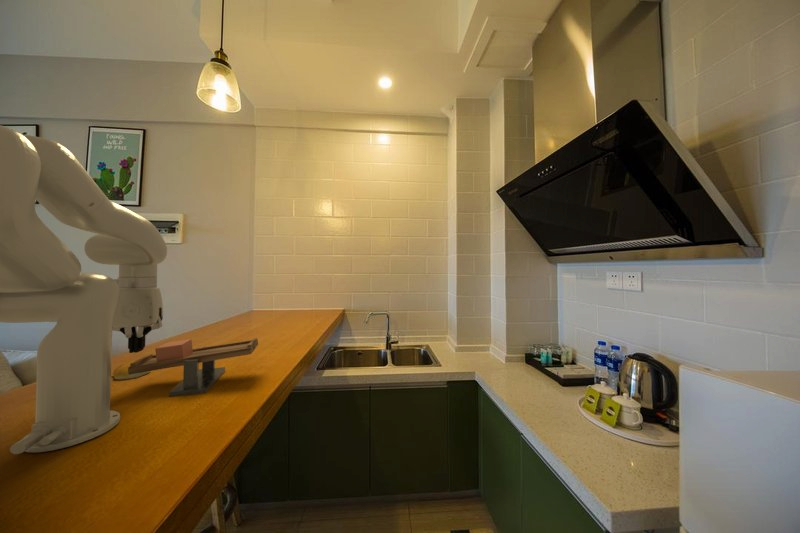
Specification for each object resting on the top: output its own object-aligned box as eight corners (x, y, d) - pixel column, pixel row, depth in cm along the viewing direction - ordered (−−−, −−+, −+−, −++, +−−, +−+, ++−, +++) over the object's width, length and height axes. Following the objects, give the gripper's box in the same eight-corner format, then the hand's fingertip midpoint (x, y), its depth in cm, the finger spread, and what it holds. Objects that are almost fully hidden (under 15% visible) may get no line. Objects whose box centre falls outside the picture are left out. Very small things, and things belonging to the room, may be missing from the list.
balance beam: (251, 357, 77) (249, 346, 77) (127, 378, 69) (126, 365, 69) (258, 346, 88) (257, 336, 88) (152, 363, 79) (151, 352, 79)
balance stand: (205, 392, 72) (206, 360, 72) (169, 396, 69) (169, 363, 69) (224, 371, 87) (225, 344, 87) (195, 373, 85) (196, 346, 85)
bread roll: (115, 383, 77) (115, 369, 77) (111, 375, 83) (111, 362, 83) (154, 374, 84) (154, 361, 84) (148, 367, 89) (148, 355, 89)
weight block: (183, 359, 75) (182, 344, 74) (156, 363, 73) (155, 348, 73) (192, 352, 80) (191, 339, 80) (168, 356, 78) (166, 342, 78)
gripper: (92, 284, 68) (90, 358, 68) (164, 284, 73) (162, 353, 73) (113, 282, 75) (111, 349, 75) (177, 282, 80) (176, 345, 80)
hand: (136, 351), depth 74 cm, fingers closed
